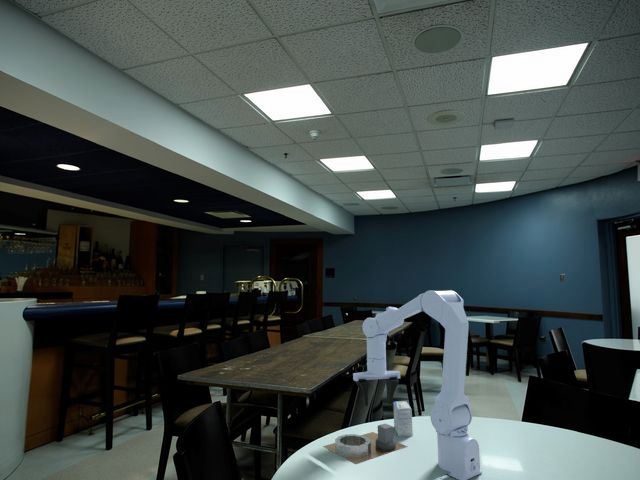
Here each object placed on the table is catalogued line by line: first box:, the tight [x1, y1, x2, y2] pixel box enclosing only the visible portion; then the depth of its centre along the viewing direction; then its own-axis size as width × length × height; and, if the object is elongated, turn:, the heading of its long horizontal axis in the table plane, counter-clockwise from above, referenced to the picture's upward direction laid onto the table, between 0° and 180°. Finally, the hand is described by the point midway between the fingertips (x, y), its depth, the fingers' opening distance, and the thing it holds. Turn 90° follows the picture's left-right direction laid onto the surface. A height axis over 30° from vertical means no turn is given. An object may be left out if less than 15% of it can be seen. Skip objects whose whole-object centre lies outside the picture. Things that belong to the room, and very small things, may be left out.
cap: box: [375, 423, 397, 451], centre depth 111 cm, size 6×6×6 cm
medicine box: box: [393, 400, 414, 437], centre depth 123 cm, size 8×4×9 cm, turn 179°
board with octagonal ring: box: [322, 431, 408, 465], centre depth 111 cm, size 14×19×3 cm
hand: (377, 404), depth 120 cm, fingers open, 7 cm apart
